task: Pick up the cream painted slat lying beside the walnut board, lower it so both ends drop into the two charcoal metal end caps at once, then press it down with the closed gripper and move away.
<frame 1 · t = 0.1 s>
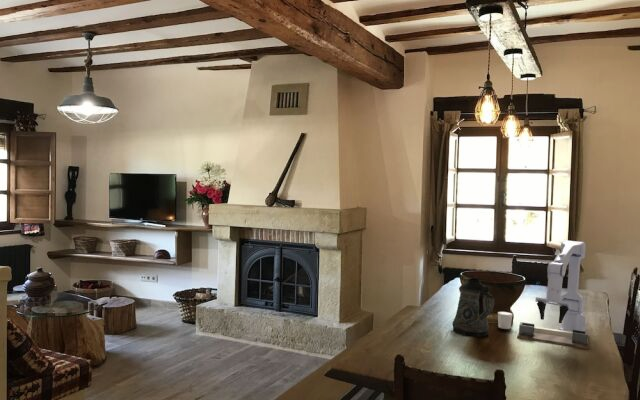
hand: (551, 321, 235), 11 cm above the table, tool pointing down, fingers open, 7 cm apart
beer stein: (473, 333, 251), on the table
slat: (553, 336, 251), on the table
end caps: (552, 333, 243), on the frame board, point 3 cm above the table
white cylinder: (504, 327, 262), on the table
frame board: (552, 340, 243), on the table
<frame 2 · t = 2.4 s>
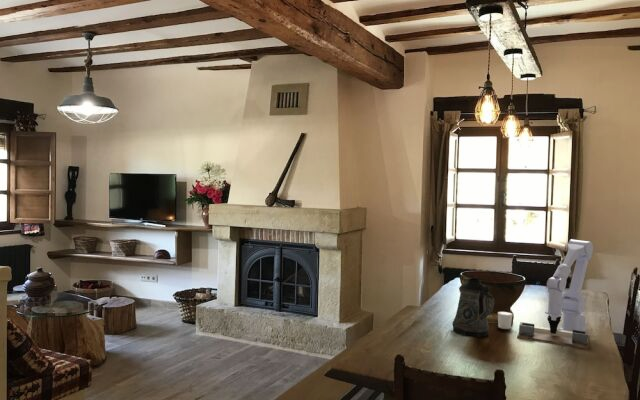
hand: (553, 332, 251), 1 cm above the table, tool pointing down, fingers closed on slat, 3 cm apart
slat: (553, 336, 251), on the table, touching gripper
everything else where it was.
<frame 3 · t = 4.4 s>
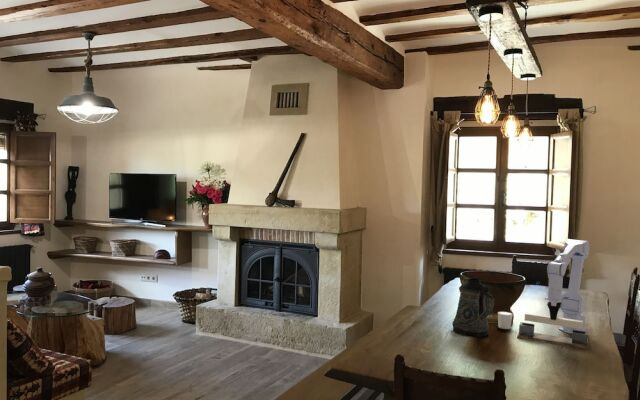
hand: (553, 318, 244), 10 cm above the table, tool pointing down, fingers closed on slat, 3 cm apart
slat: (553, 323, 244), point 7 cm above the table, touching gripper
everything else where it was.
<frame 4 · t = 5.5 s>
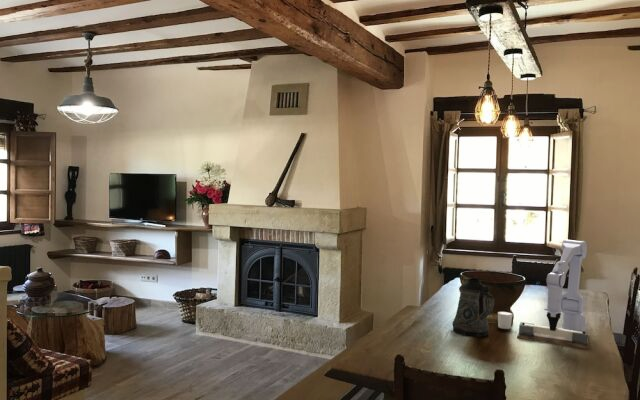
hand: (552, 329, 243), 5 cm above the table, tool pointing down, fingers closed on slat, 3 cm apart
slat: (552, 334, 243), point 3 cm above the table, touching end caps, gripper
everything else where it was.
when the fingers open (5 cm above the table, at t = 5.7 s): slat stays where it is, resting on end caps.
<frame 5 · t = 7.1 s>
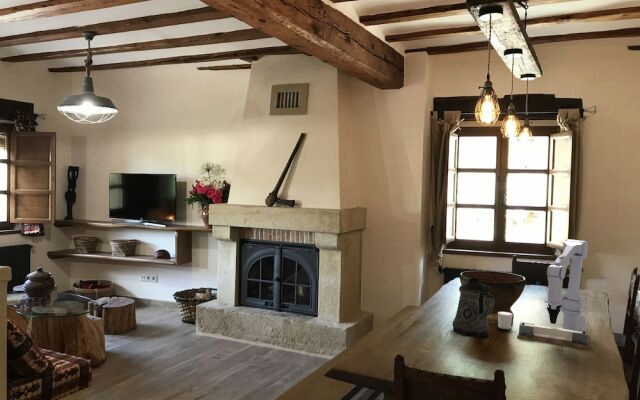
hand: (553, 321, 243), 8 cm above the table, tool pointing down, fingers open, 6 cm apart
slat: (552, 334, 243), point 2 cm above the table, touching end caps
everything else where it was.
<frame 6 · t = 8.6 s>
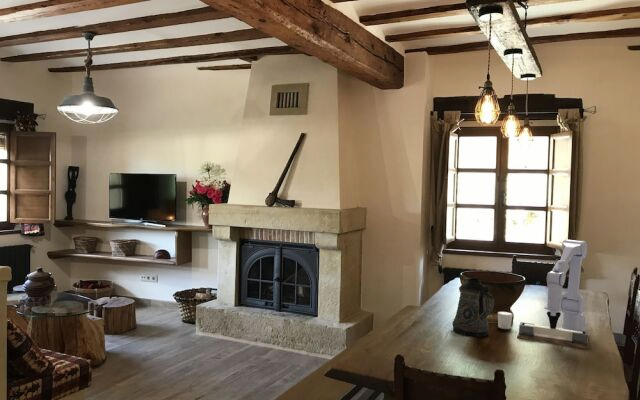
hand: (553, 328, 243), 5 cm above the table, tool pointing down, fingers closed, pressing on slat
slat: (552, 334, 243), point 2 cm above the table, touching end caps, gripper
everything else where it was.
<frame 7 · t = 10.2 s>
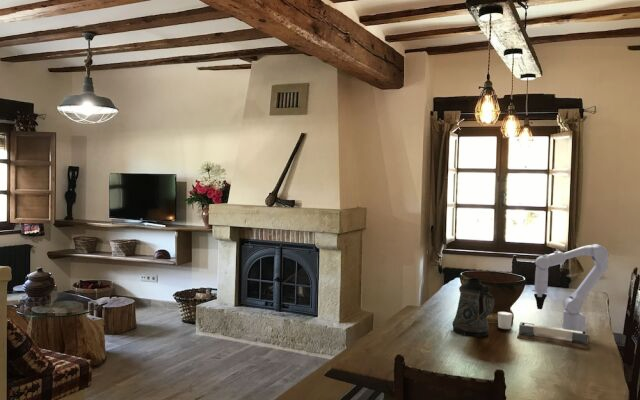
hand: (539, 308, 263), 9 cm above the table, tool pointing down, fingers closed
slat: (552, 334, 243), point 2 cm above the table, touching end caps
everything else where it was.
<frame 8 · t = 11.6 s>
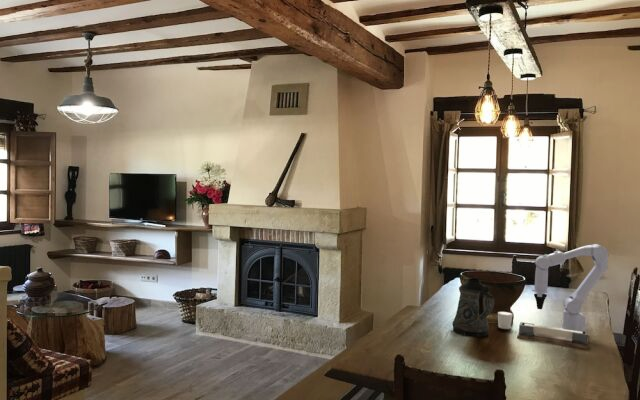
hand: (539, 308, 263), 9 cm above the table, tool pointing down, fingers closed
nothing on the table moved.
at the end: slat 0.0 cm off-centre on the frame board, point 2.5 cm above the frame board's base; slat tilted 0°; the gripper is holding nothing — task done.
